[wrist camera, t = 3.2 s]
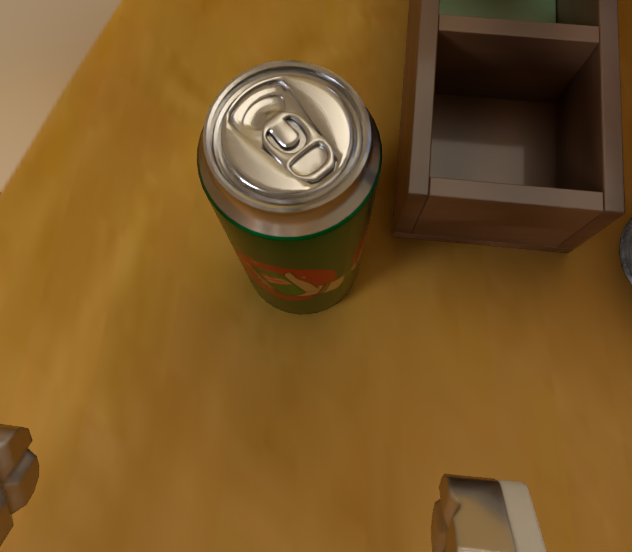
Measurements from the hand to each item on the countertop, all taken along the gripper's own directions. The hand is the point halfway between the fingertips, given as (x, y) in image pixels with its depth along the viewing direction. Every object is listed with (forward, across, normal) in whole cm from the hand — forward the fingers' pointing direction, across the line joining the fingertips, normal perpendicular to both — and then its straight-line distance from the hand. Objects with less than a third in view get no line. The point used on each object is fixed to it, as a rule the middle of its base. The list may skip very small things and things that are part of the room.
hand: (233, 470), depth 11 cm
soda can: (+15, 0, +4) cm, 16 cm away
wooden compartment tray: (+24, -8, -6) cm, 26 cm away
